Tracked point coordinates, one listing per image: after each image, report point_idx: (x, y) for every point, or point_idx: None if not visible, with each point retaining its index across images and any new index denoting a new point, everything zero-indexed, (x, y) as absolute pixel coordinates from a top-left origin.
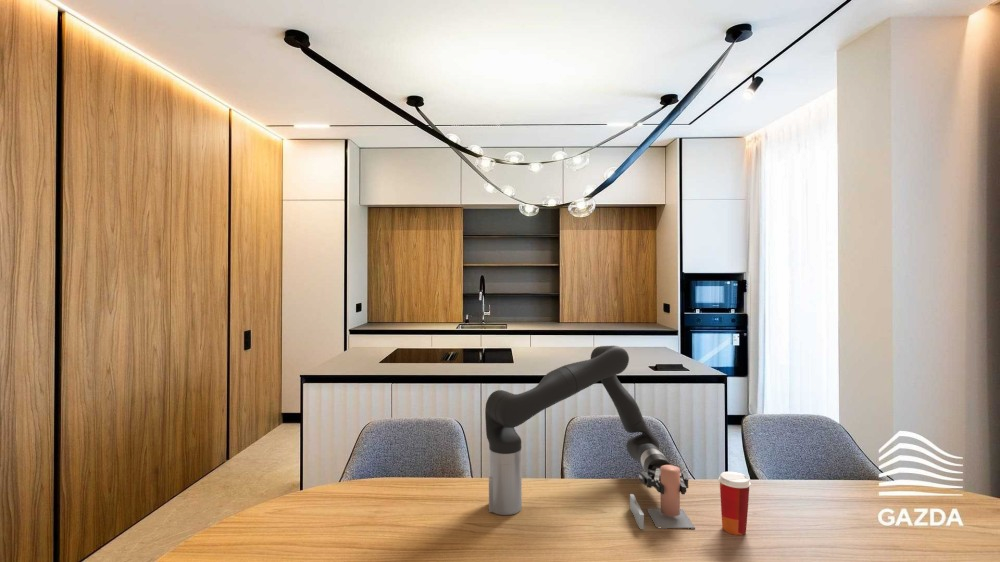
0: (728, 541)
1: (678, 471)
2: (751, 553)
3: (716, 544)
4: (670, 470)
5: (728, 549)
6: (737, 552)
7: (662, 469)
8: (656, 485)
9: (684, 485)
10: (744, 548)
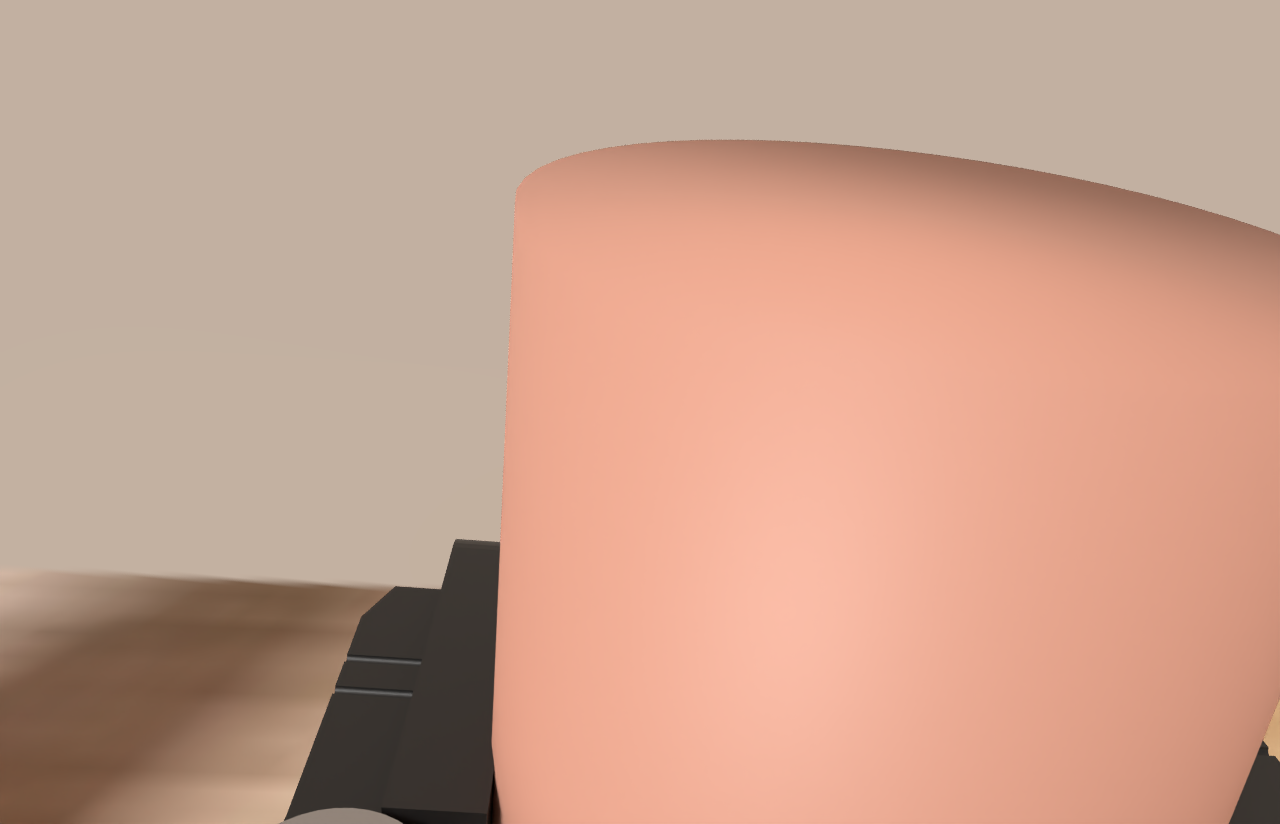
0: (93, 725)
1: (656, 143)
2: (48, 570)
3: (295, 688)
4: (933, 185)
5: (230, 622)
6: (177, 587)
7: (1249, 232)
8: (1271, 791)
9: (371, 676)
10: (35, 625)
